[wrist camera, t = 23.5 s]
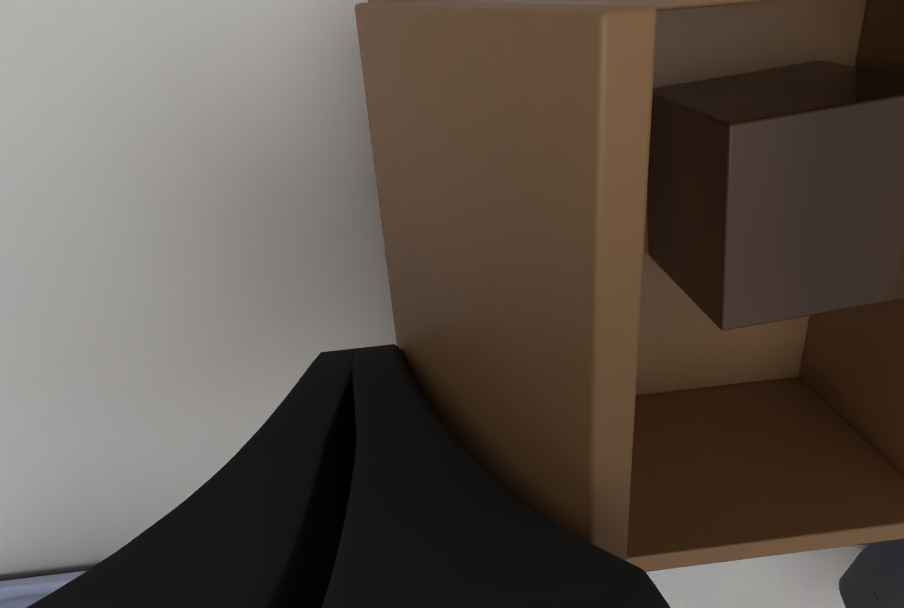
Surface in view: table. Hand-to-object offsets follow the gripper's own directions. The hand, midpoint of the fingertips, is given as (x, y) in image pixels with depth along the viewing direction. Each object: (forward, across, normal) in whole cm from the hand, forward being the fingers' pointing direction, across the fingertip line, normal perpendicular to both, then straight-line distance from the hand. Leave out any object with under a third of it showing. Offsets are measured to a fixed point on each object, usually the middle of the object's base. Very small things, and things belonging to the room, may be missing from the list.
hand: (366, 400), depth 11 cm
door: (-2, -2, 0) cm, 3 cm away
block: (+7, -9, -1) cm, 12 cm away
